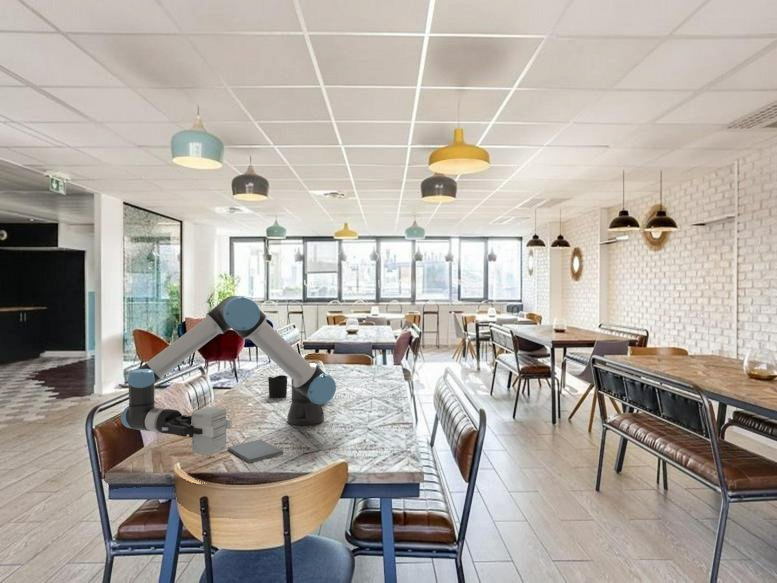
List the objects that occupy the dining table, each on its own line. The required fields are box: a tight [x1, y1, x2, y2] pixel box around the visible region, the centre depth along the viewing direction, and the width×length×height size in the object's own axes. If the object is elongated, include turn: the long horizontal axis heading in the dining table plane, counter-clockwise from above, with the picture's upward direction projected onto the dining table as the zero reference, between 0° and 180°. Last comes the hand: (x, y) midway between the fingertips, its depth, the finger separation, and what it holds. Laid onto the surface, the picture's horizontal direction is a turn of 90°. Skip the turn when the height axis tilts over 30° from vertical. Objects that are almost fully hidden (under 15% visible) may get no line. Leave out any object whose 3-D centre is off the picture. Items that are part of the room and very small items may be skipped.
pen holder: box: [267, 374, 288, 399], centre depth 237 cm, size 9×9×10 cm
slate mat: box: [227, 438, 284, 463], centre depth 157 cm, size 16×12×1 cm
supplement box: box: [191, 406, 227, 457], centre depth 143 cm, size 7×7×13 cm
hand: (221, 428), depth 141 cm, fingers closed on supplement box, 7 cm apart
